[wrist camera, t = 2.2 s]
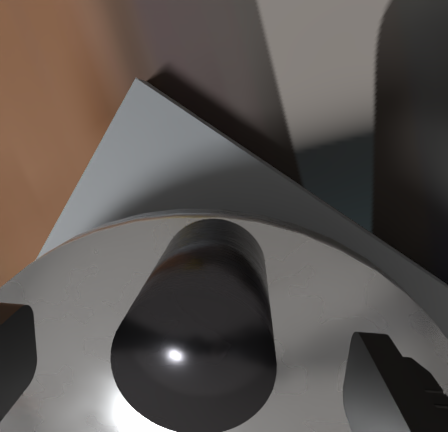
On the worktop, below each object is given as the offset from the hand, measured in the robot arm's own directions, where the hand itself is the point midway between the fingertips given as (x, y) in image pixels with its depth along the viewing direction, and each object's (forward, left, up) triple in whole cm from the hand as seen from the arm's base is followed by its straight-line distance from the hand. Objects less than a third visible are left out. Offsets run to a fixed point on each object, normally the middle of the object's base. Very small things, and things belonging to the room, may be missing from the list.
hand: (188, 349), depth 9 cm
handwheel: (-6, +9, -7) cm, 13 cm away
